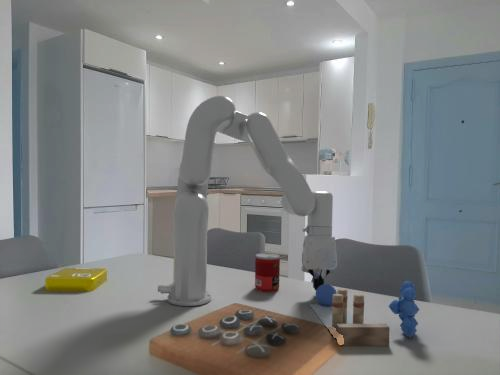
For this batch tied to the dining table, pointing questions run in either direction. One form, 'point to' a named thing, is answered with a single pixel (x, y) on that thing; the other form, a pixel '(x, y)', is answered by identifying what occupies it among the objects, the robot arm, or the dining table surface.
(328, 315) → the lane mark
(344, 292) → the pin front
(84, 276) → the element tile
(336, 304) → the pin left
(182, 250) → the robot arm
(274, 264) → the canned food
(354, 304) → the pin right
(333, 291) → the ball
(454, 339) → the dining table surface
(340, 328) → the back wall
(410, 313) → the grapes
